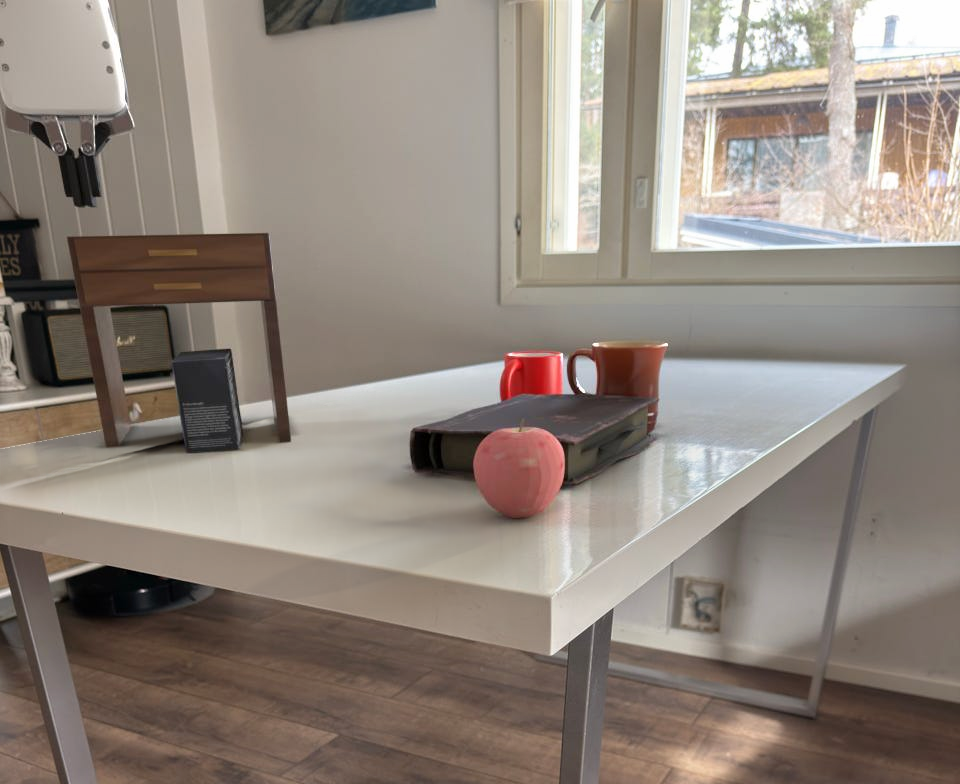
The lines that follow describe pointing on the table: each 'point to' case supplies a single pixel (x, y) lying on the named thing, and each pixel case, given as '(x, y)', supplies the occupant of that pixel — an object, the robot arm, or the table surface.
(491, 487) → the apple
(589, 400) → the diary
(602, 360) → the mug
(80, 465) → the table surface
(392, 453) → the table surface
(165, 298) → the brown wooden stand
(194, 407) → the small box
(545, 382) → the mug
